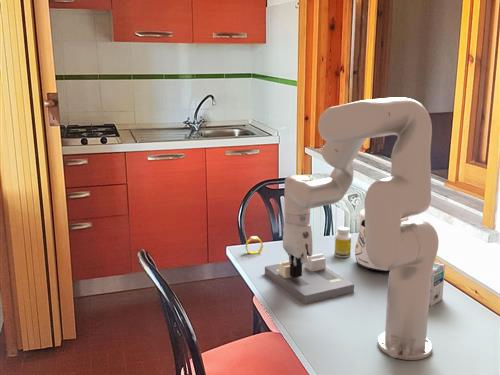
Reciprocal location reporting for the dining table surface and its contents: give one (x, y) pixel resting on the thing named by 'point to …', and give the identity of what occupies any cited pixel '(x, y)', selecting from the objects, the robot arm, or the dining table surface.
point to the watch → (254, 239)
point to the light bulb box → (436, 283)
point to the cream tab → (284, 269)
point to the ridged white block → (316, 262)
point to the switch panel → (312, 283)
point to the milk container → (361, 245)
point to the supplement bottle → (343, 242)
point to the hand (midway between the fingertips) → (295, 276)
